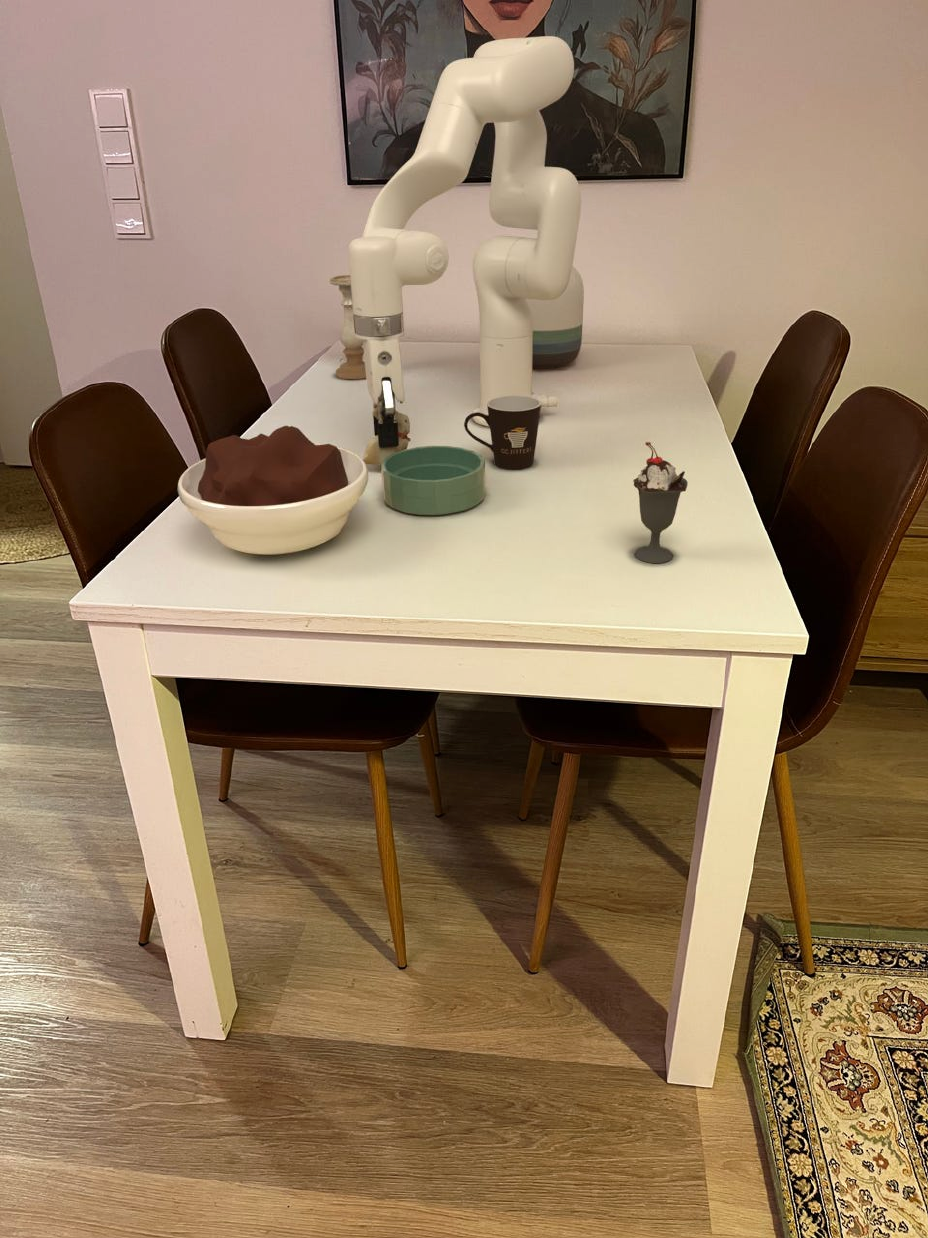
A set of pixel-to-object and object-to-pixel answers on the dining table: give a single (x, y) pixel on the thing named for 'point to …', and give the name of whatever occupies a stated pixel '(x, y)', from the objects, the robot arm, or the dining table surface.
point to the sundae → (658, 504)
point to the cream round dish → (273, 491)
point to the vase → (558, 326)
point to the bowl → (433, 480)
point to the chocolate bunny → (378, 454)
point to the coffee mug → (511, 430)
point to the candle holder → (349, 335)
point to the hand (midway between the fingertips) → (386, 440)
